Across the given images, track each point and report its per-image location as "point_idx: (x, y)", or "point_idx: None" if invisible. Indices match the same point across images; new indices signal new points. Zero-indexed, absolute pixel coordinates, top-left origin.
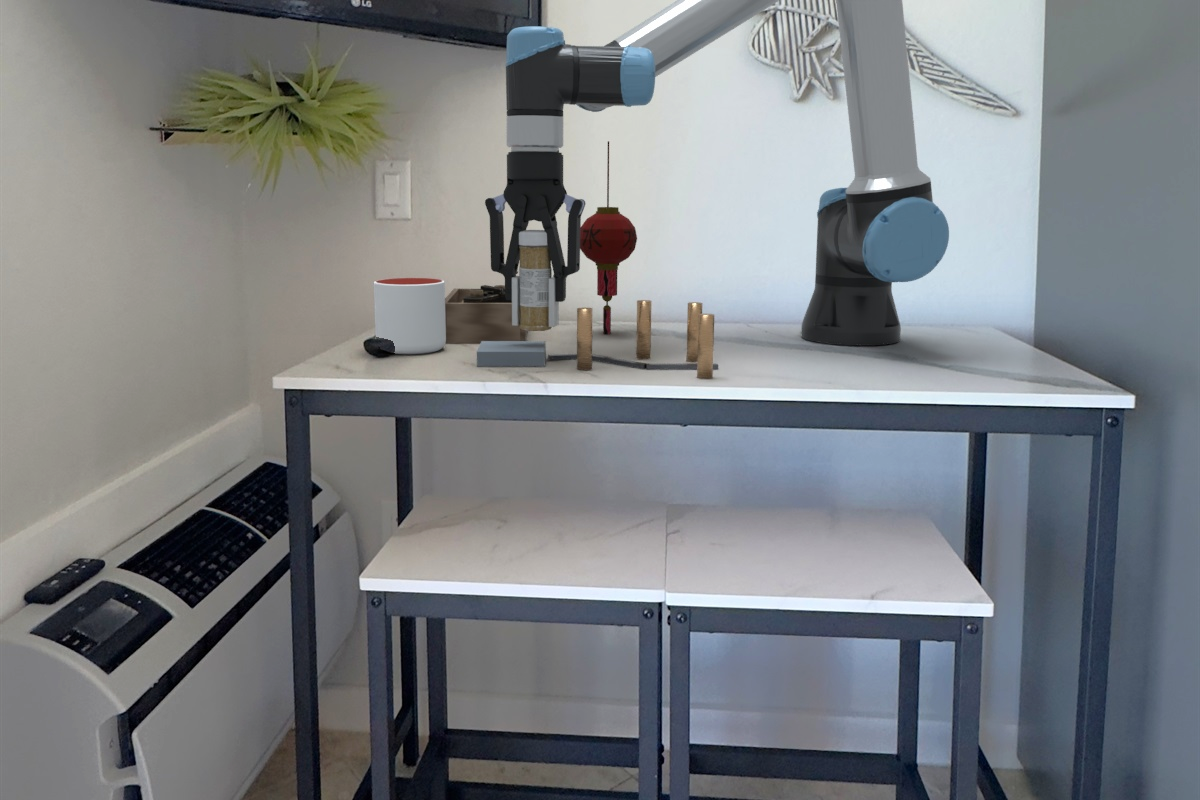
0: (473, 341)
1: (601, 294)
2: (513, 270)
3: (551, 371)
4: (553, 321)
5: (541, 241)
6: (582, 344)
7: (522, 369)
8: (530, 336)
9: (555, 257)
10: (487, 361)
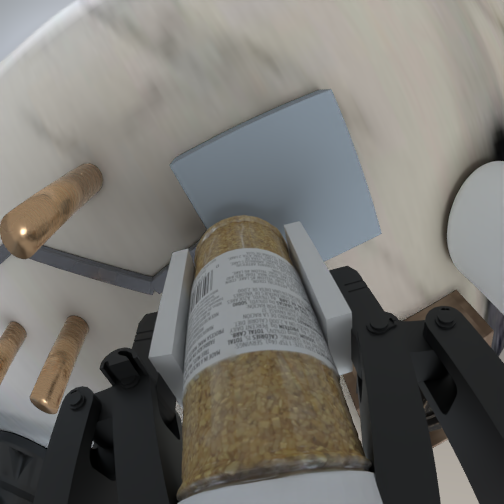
0: (415, 316)
1: None
2: (359, 347)
3: (132, 116)
4: (172, 259)
5: None
6: (58, 179)
7: (204, 103)
8: (346, 394)
9: (131, 444)
10: (300, 98)
